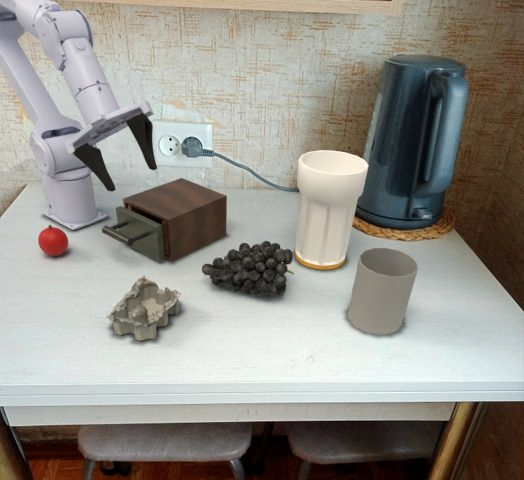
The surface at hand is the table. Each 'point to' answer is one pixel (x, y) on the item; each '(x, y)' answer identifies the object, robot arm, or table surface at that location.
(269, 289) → the fruit
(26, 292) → the table surface
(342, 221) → the cup
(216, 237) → the cabinet
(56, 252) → the apple
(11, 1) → the robot arm
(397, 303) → the cup
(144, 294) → the egg carton
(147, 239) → the drawer
